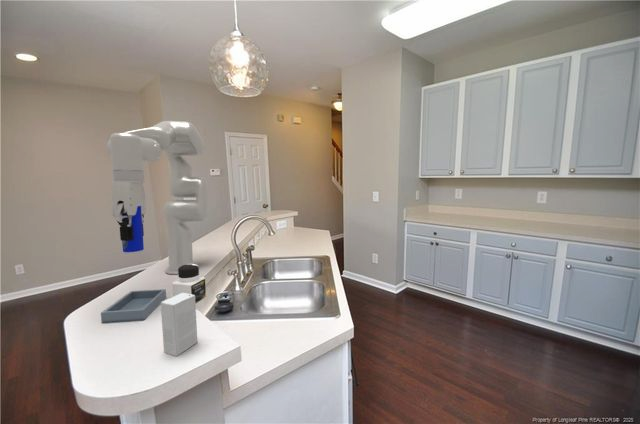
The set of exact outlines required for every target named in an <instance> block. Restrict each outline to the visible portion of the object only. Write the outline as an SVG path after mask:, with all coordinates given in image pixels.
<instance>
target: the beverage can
mask: <svg viewBox="0 0 640 424" xmlns="http://www.w3.org/2000/svg"><path fill="white" fill-rule="evenodd" d="M123 216H128V215H127V214H123ZM125 219H126V220H128V218H125ZM142 224H143V223H142V213H141V205H140V204H139V205H138V206H137V212H136V215H134V216H132V223H131V227H132V226H133V236H134V239H133V240H131V241H121V244H122V253H123V254H125V255H135V254H139V253H140V254H141V253H142V252H143V251H144V250H145V249H144V236H143V231H144V228H143V229H142Z"/></svg>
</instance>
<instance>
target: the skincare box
mask: <svg viewBox="0 0 640 424" xmlns="http://www.w3.org/2000/svg"><path fill="white" fill-rule="evenodd" d="M196 305H197V303H196V304H195V295H192V294H187V293H180V294H178V295H176V296H174V297H173V296H172V297H169V298H168V299H167V298H166V299H165V300H164V301H162V302H161V304H160V313H161V328H162V341H163V342H162V343H163V352H164V354H169V355H172V356H175V357H178V356H180V355H181V354H182V353H184V352H185V351H186V350H187V351H188V349H189V348H190V347H192V346H194V345H195V344H197V343H198V326H197V307H196Z"/></svg>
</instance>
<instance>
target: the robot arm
mask: <svg viewBox="0 0 640 424" xmlns="http://www.w3.org/2000/svg"><path fill="white" fill-rule="evenodd" d="M106 151H107V154H108V156H109V157H110V158H111V174H112V185H111V193H110V194H111V197H110V198H111V199H110V201H111V202H110V204H111V216H113V218H114V219H115V220H116V222H117V223H118V225H117V226H118V228H119V238H120V241H121V242H122V241H131V240H133V239H134V236H133V226H132V227H131V223H132V216H134V215H136V212H137V206H138V205H139V204H140V205H141V213H142V229H143V237H144V236H145V233H144V232H145V231H144V222H145V220H144V217H145V213H146V207H147V205H146V196H145V187H144V184H143V183H145V172H144V171H145V170H144V163H155V162H157V161H159V160H160V158H161V157H162V155H163V152H164V154H165V157H166V158H167V161H168V162H169V167H170V174H169V175H170V176H169V194H170V195H171V196H172V197H173V198H179V199H176V200H175V199H173V200H170V201H168V202H166V203H165V204H164V206H163V214H164V218H165V223H166V229H167V230H166V231H167V251H168V267H166V269H164V270H165V271H164V272H165V274H168V275H178V268H179V267H181V266H182V265H186V264H194V260H193V259H194V256H193V232H192V229H191V227H190V226H189V225H188V224H187V222H188V223H189V222H204V221H206V219H207V218H208V214H209V191H210V190H209V183H208V181H207V179H206V178H205V177H202V176H192V173H193V172H192V171H193V170H192V169H193V168H192V165H191V164H190V162H189V161H188V160H187V159H186V158H185V157H184V156H193V157H196V156H197V157H198V156H201V155H203V154H204V153H205V142H204V139H203V137H202V136H201V134H200V132H199V131H198V129H197V127H195V125H194V124H193V123H191V122H190V121H186V120H185V121H184V120H183V121H179V120H163V121H160V122H158V123H156V124H155V125H152V126H150V127H147V128H146V127H145V128H140V129H135V130H130V131H128V130H127V131H125V132H115V133H112V134H111V135H110V136H109V140H108V141H107V144H106ZM181 198H182V199H181ZM183 198H185V199H183ZM187 198H189V199H187ZM193 198H194V199H193ZM123 214H127V215H128V216H123ZM125 218H128V220H126V219H125Z"/></svg>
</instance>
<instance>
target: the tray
mask: <svg viewBox="0 0 640 424" xmlns="http://www.w3.org/2000/svg"><path fill="white" fill-rule="evenodd" d="M165 300H167V289H163V288H162V289H146V290H145V289H144V290H131V291H129V292H128V293H127V294H125V295H123V296H122V297H120V299H118V300H116V301H115V302H114V303H113V304H110V306H109V307H107V308H105V309H104V310H103V311H102V312H100V318H101V320H100V321H101V324H110V323H111V324H112V323H125V322H139V321H142V322H143V321H145V320H146V319H148V317H149V316H150V315H151V314H152V313H153V312H154V311H155V310H156V309H157V308H158V307H159V306H161V302H162V301H165Z"/></svg>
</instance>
